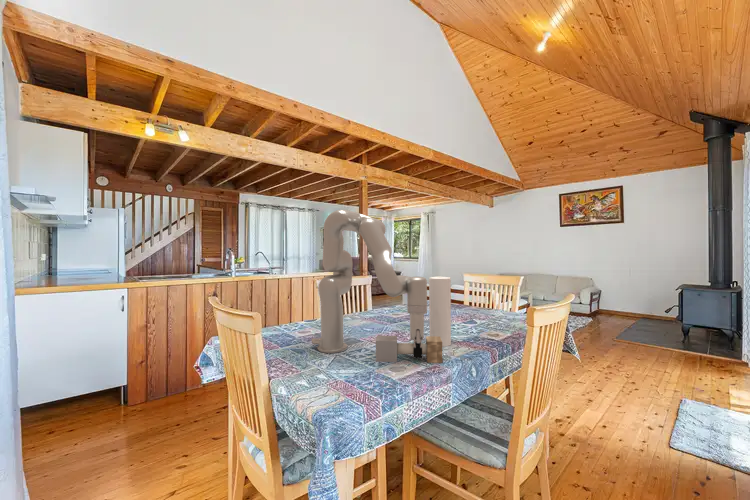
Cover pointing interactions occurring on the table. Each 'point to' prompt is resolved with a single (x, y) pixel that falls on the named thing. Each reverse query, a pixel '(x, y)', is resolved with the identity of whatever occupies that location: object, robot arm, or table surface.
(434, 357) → the socket
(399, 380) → the table surface
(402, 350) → the tube
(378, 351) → the grey block
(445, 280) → the cylinder container
